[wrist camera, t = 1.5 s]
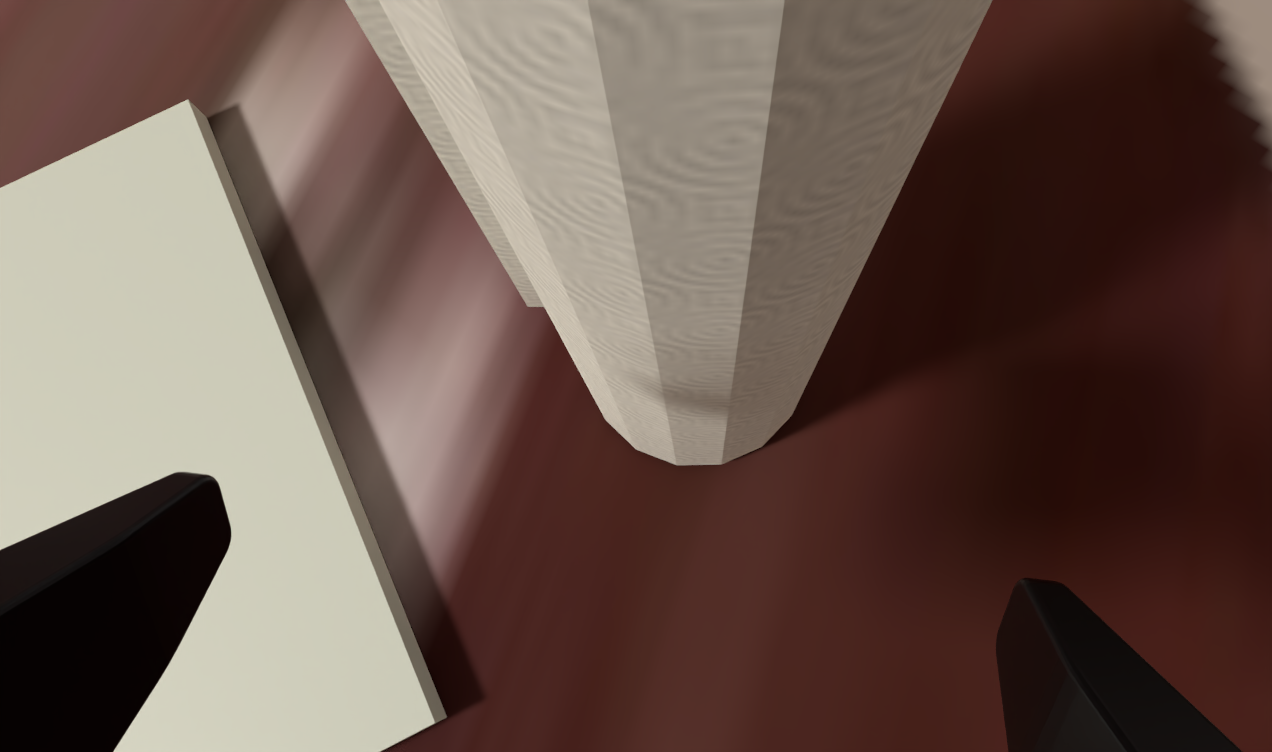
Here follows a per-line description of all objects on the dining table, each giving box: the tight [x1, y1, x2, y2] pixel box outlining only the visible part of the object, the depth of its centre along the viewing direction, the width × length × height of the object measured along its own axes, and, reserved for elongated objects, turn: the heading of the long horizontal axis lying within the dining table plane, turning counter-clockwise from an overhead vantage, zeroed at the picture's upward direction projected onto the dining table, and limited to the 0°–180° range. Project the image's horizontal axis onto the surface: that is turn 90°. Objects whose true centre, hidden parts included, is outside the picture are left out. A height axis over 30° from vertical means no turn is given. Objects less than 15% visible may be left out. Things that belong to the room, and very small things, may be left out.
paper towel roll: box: [345, 0, 992, 465], centre depth 13 cm, size 7×6×21 cm
